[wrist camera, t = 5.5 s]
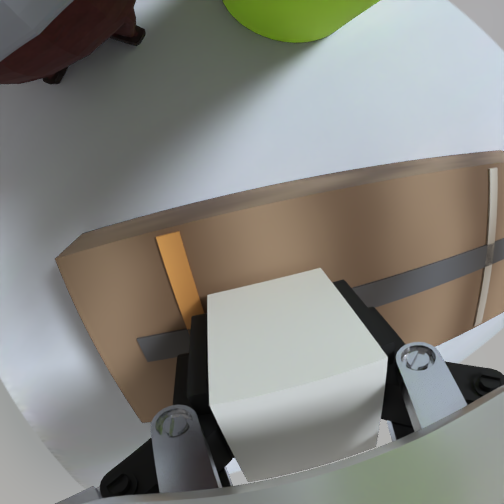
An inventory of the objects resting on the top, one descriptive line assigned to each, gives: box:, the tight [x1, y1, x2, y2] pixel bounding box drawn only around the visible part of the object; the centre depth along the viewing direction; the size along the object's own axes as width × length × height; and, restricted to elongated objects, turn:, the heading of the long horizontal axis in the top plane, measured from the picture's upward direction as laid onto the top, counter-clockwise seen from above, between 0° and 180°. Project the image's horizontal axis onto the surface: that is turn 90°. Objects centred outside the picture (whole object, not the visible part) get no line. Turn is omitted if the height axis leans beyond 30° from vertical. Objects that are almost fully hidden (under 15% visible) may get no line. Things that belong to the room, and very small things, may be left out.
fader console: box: [55, 150, 504, 423], centre depth 12 cm, size 23×9×6 cm, turn 102°
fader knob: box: [207, 268, 388, 482], centre depth 9 cm, size 4×4×5 cm
